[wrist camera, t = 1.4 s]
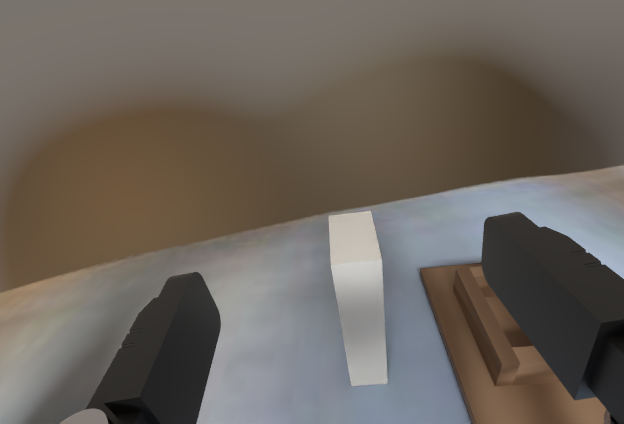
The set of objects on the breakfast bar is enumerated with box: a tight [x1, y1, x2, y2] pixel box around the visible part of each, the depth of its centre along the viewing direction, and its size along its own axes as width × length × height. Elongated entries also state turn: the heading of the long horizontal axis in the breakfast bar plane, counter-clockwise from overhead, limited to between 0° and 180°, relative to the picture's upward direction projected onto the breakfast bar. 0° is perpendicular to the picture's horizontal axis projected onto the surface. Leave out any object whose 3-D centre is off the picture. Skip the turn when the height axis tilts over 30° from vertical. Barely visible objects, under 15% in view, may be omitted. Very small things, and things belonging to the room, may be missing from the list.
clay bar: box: [329, 211, 388, 386], centre depth 25 cm, size 3×5×14 cm, turn 179°
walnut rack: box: [420, 263, 606, 424], centre depth 27 cm, size 12×16×4 cm
